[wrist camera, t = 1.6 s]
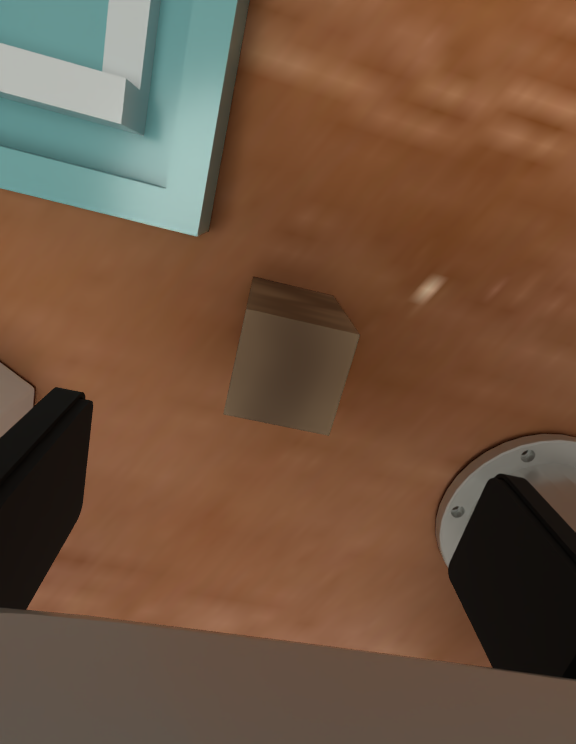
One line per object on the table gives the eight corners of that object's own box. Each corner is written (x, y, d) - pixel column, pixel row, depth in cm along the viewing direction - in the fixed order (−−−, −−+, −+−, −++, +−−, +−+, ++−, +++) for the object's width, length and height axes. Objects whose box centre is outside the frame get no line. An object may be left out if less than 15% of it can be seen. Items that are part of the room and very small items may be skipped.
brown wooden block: (333, 295, 25) (359, 334, 18) (312, 370, 27) (328, 435, 19) (253, 276, 25) (246, 308, 17) (236, 353, 26) (223, 414, 19)
